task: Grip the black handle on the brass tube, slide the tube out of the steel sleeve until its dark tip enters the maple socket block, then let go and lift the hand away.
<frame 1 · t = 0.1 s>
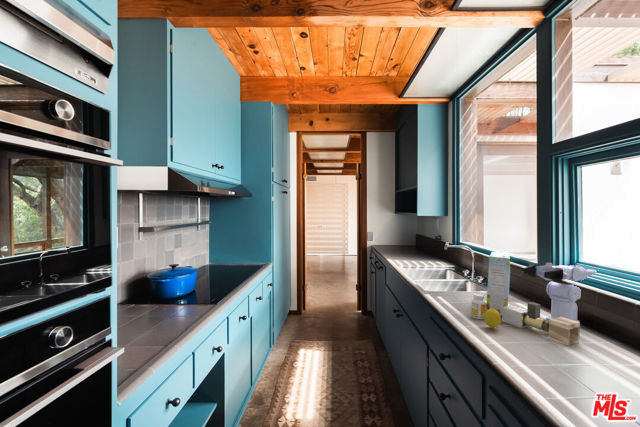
hand: (534, 272, 122), 22 cm above the worktop, tool horizontal, fingers open, 7 cm apart
snack box: (497, 310, 143), on the worktop
lemon: (492, 329, 120), on the worktop
socket block: (563, 340, 110), on the worktop
sleeve: (516, 323, 126), on the worktop
supplement bottle: (478, 317, 132), on the worktop
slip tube: (527, 313, 122), point 6 cm above the worktop, slide at 0.0 cm
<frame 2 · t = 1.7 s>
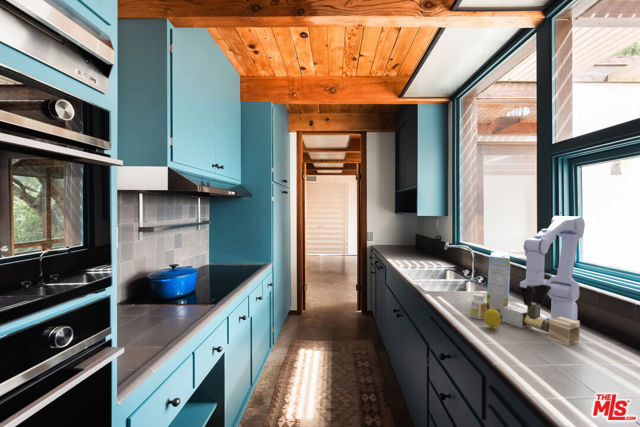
hand: (533, 304, 120), 10 cm above the worktop, tool pointing down, fingers open, 7 cm apart
nothing on the worktop moved.
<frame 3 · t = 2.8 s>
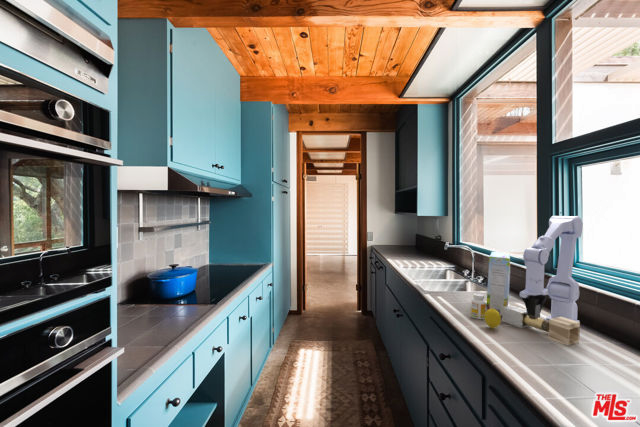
hand: (533, 314, 120), 6 cm above the worktop, tool pointing down, fingers closed on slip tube, 3 cm apart
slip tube: (527, 313, 122), point 6 cm above the worktop, slide at 0.0 cm, touching gripper
everything else where it was.
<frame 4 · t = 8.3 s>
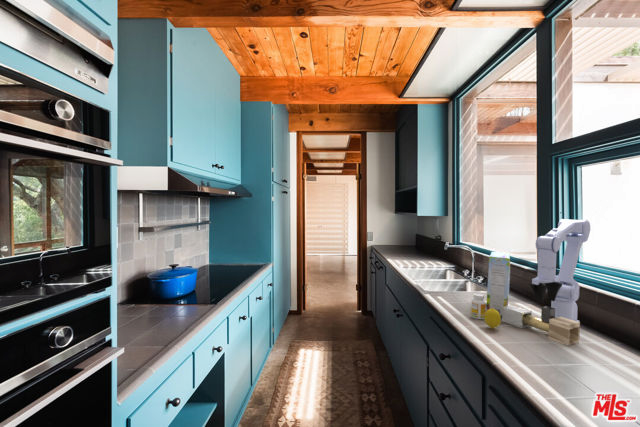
hand: (545, 301, 122), 10 cm above the worktop, tool pointing down, fingers open, 7 cm apart
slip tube: (541, 317, 117), point 6 cm above the worktop, slide at 5.1 cm
everything else where it was.
at the end: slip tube slide at 5.1 cm; the gripper is holding nothing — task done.
